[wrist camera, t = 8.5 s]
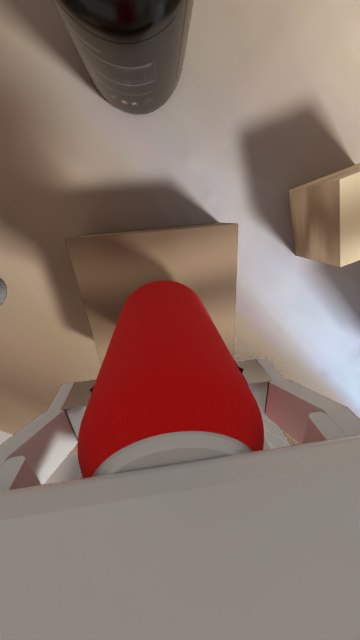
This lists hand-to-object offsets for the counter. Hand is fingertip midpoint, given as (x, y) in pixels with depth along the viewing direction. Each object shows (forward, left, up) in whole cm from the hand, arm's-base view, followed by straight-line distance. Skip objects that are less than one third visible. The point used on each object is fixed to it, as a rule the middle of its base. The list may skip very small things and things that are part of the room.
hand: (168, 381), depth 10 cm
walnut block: (0, 0, -13) cm, 13 cm away
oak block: (+6, -16, -13) cm, 22 cm away
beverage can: (0, 0, -8) cm, 8 cm away
